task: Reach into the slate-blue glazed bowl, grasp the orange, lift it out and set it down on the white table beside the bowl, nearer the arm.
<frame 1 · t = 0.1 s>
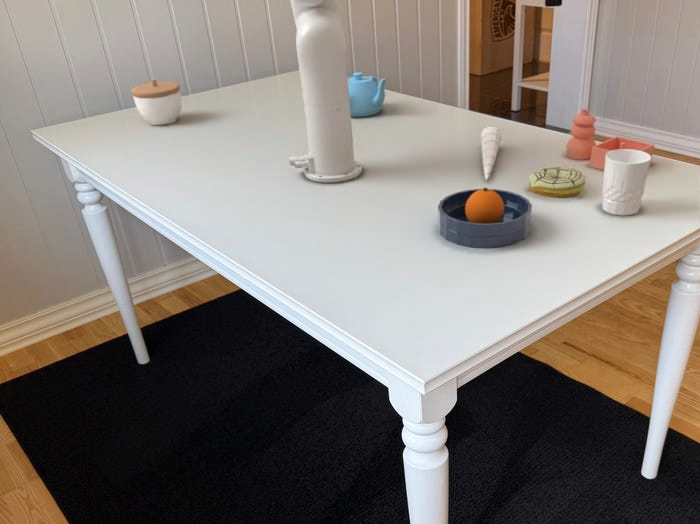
hand: (546, 2, 135), 31 cm above the table, tool pointing down, fingers open, 9 cm apart
unicorn horn: (490, 162, 152), on the table
white cup: (620, 209, 128), on the table
decorated donut: (555, 192, 136), on the table
pottery: (602, 161, 150), on the table
orange: (484, 228, 122), point 1 cm above the table, touching blue bowl
blue bowl: (483, 231, 122), on the table
lidded bowl: (163, 122, 189), on the table
teapot: (358, 113, 189), on the table
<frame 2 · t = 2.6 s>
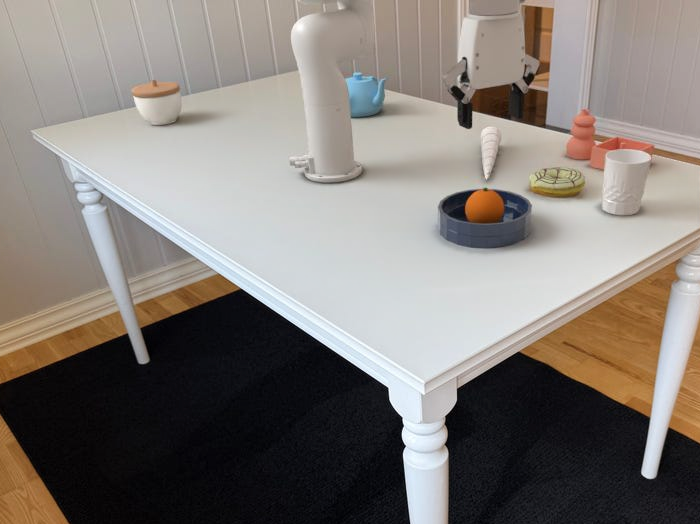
hand: (490, 122, 112), 19 cm above the table, tool pointing down, fingers open, 9 cm apart
nothing on the table moved.
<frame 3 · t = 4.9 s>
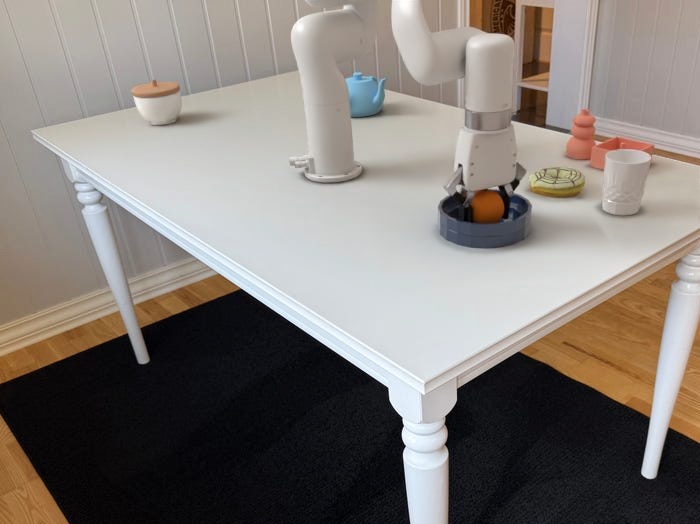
hand: (484, 220, 121), 2 cm above the table, tool pointing down, fingers closed on orange, 6 cm apart
orange: (484, 228, 122), point 1 cm above the table, touching blue bowl, gripper
everything else where it was.
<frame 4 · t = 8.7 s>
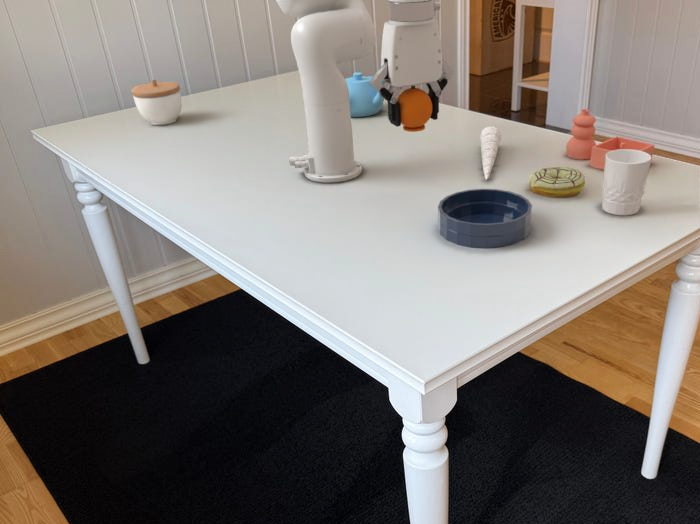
hand: (413, 120, 124), 16 cm above the table, tool pointing down, fingers closed on orange, 6 cm apart
orange: (414, 128, 124), point 15 cm above the table, touching gripper
everything else where it was.
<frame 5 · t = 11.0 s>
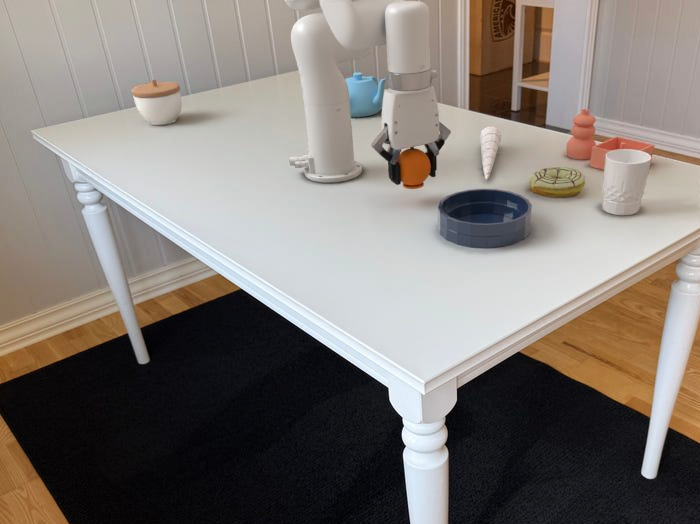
hand: (413, 178, 130), 5 cm above the table, tool pointing down, fingers closed on orange, 6 cm apart
orange: (413, 185, 131), point 4 cm above the table, touching gripper
everything else where it was.
when the fingers open (1 cm above the table, at t = 12.6 s): orange stays where it is, on the table.
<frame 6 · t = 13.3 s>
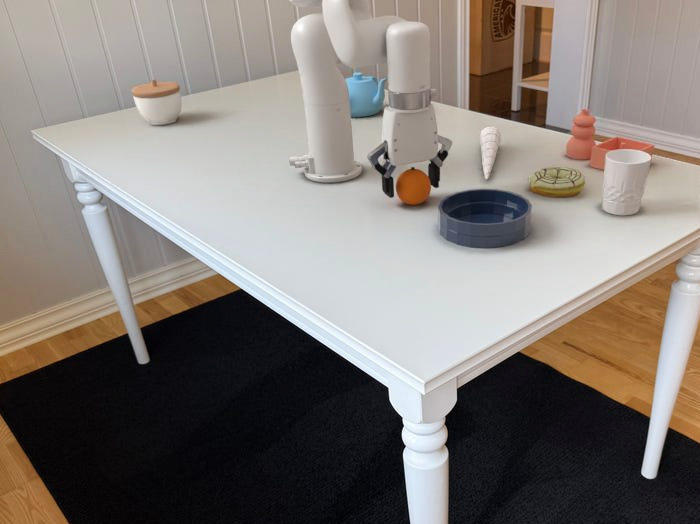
hand: (411, 190, 132), 3 cm above the table, tool pointing down, fingers open, 9 cm apart
orange: (413, 204, 133), on the table
everything else where it was.
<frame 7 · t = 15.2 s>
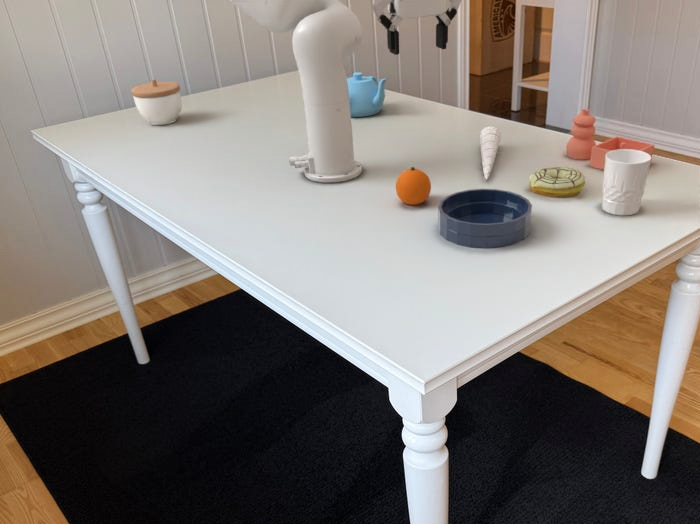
hand: (418, 50, 128), 26 cm above the table, tool pointing down, fingers open, 9 cm apart
nothing on the table moved.
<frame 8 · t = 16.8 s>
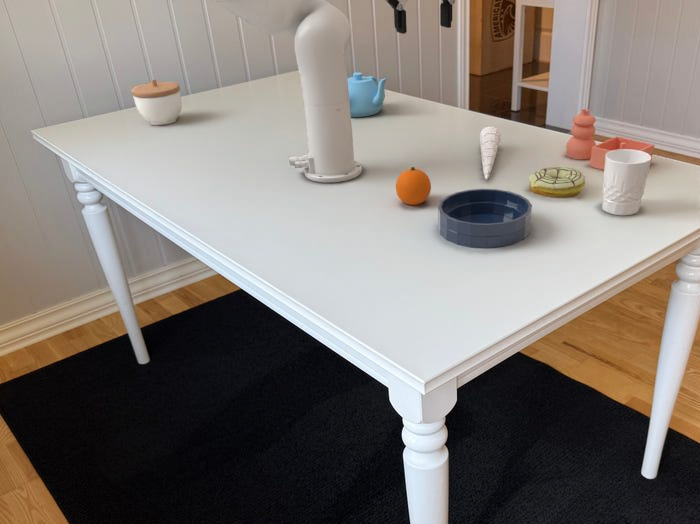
hand: (423, 29, 131), 28 cm above the table, tool pointing down, fingers open, 9 cm apart
nothing on the table moved.
at the end: orange inside the target area (0.4 cm from its centre), on the table; orange tilted 0°; the gripper is holding nothing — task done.
